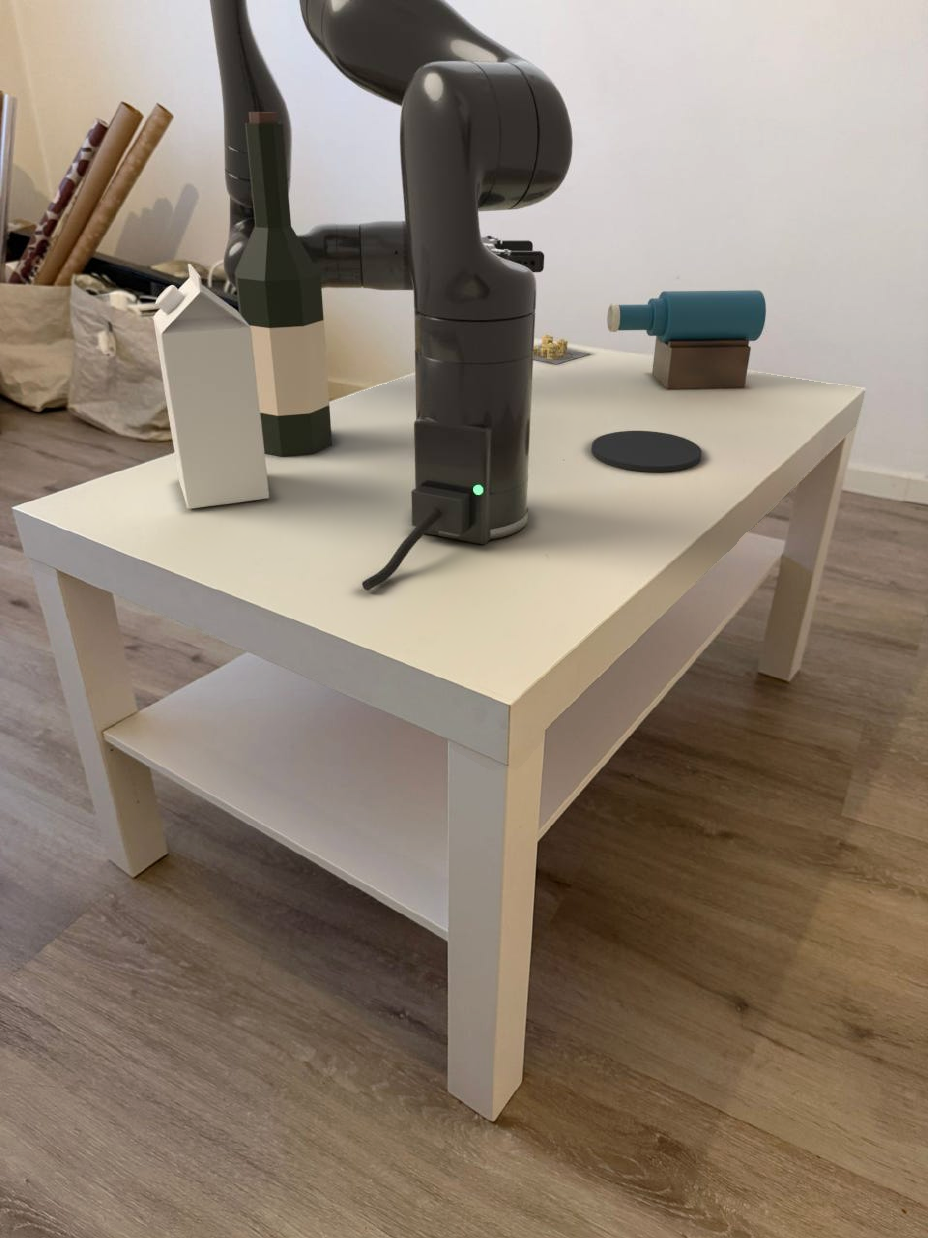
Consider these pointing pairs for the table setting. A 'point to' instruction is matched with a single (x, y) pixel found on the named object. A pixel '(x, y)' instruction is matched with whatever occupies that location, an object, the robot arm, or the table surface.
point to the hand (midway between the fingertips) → (537, 255)
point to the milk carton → (210, 396)
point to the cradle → (701, 363)
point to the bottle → (694, 315)
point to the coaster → (646, 451)
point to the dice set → (555, 351)
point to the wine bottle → (282, 306)
